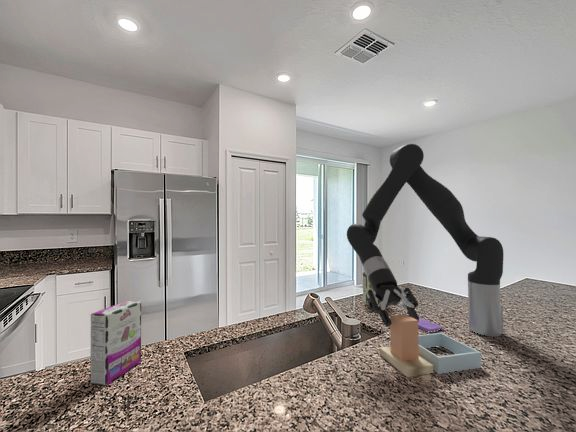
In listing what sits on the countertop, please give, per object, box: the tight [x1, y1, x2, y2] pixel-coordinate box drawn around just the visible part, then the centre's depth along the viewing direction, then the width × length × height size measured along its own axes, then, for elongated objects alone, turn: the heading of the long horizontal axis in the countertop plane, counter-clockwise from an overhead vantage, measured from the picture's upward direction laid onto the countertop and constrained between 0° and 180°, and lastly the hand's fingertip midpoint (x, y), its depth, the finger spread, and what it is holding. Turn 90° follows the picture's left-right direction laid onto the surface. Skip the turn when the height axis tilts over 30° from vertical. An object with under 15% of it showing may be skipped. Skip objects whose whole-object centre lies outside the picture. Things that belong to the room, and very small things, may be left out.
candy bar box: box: [89, 300, 142, 386], centre depth 68 cm, size 11×5×16 cm, turn 168°
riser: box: [379, 345, 434, 378], centre depth 73 cm, size 8×12×2 cm, turn 14°
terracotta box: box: [389, 313, 419, 361], centre depth 73 cm, size 5×5×10 cm
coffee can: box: [362, 271, 380, 306], centre depth 129 cm, size 10×10×14 cm
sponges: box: [418, 316, 444, 331], centre depth 101 cm, size 7×13×2 cm, turn 23°
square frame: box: [418, 332, 482, 375], centre depth 76 cm, size 13×13×4 cm
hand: (403, 324), depth 74 cm, fingers open, 8 cm apart
